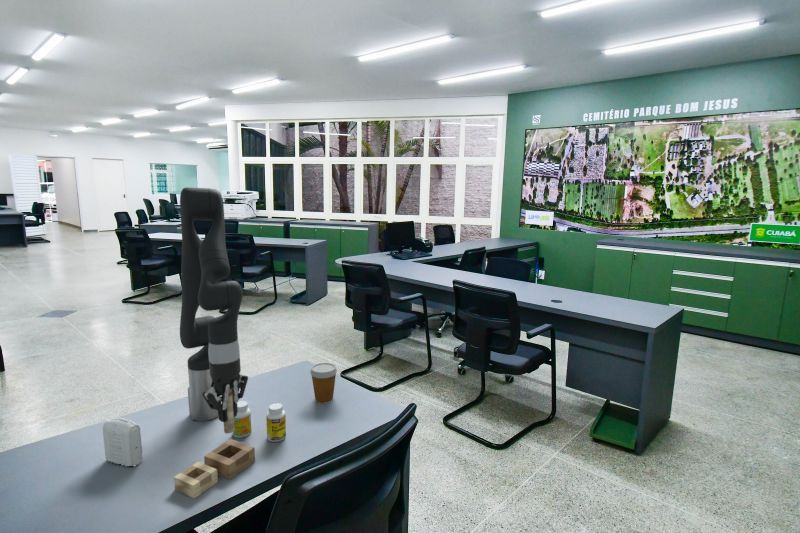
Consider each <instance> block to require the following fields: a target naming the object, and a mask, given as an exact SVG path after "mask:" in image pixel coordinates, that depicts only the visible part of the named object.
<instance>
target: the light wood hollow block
mask: <svg viewBox="0 0 800 533" xmlns="http://www.w3.org/2000/svg"><path fill="white" fill-rule="evenodd" d="M218 476H219V475H218V474H217V469H215V468H213V467H210V466H208V465H205V463H202V462H200V461H196V462H195V463H193V464H192V465H191V466H189V467H187V468H186V469H185V470H183V471H181V472H180V473H178V474H176V475H174V476H173V481H174V490H175V491H176V492H180V493H181V494H183V495H186V496H187V497H190V498H192V499H196V498H197V497H199V496H201V494H203V493H204V492H206V491H207V490H208V489H209V488H211V487H212V486H214V485H216V483H218V482H219V478H218Z"/></svg>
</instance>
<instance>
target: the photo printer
mask: <svg viewBox="0 0 800 533" xmlns="http://www.w3.org/2000/svg"><path fill="white" fill-rule="evenodd" d="M102 436H103V443H104V445H103V447H104V456H105V460H106V461H107V460H108V461H107V462H109V461H111V462H110V463H112V462H114V463H113V464H116V463H117V464H116V465H119V464H121V465H120V466H123V465H125V466H124V467H127V466H134V465H137V464H138V465H140V464H141V463H140V462H142V460H143V446H142V445H143V444H142V434H141V427H140V426H139V424H137V423H136V422H134V421H133V420H130V419H127V418H123V417H112V418H109V419H108V420H105V421H104V423H103V425H102ZM139 463H140V464H139ZM138 465H137V466H138ZM134 467H135V466H134Z"/></svg>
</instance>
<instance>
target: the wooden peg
mask: <svg viewBox="0 0 800 533" xmlns="http://www.w3.org/2000/svg"><path fill="white" fill-rule="evenodd" d="M222 397H223V396H222ZM226 408H227V416H228V421H227V422H225V423H224V422H223V432H224V433H225V434H233V432H234V430H235V428H234V412H233V392H232V389H230V390H229V393H228V400H227V405H226Z"/></svg>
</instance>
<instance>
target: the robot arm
mask: <svg viewBox="0 0 800 533" xmlns="http://www.w3.org/2000/svg"><path fill="white" fill-rule="evenodd" d="M179 208H180V210H179V211H180V226H181V227H180V228H181V267H180V269H181V270H180V272H181V275H180V276H181V277H180V278H181V280H180V281H181V311H180V321H179V340H180V343H181V345H182V347H183V348H184V349H186V350H187V349H189V350H190V349H194V348H200V347H202V348H201V349H200V350H198V351H196V352H195V353H194V354H192V355H190V356H189V358H188V359H187V375H188V376H187V377H188V387H187V399H188V410H189V413H188V414H189V415H190V416H191V419H192V420H194V421H198V422H203V421H206V422H207V421H211V420H213V419H216V418H217V417H218V419H217V420H219V422H222V423H223V424H224V423H225V422H227V421H228V416H227V408H226V405H227V400H228V393H229V390H230V389H232V392H233V412H234V417H235V416H237V412H238V409H237V402H239V401H240V399H242V398H243V397H244V396H245V395H244V394H245V391H246V387H247V384H248V381H249V380H248V379H249V376H247V375H245V374H241V357H240V356H241V353H240V351H241V350H240V344H239V338H238V337H239V335H238V319H239V313H240V308H241V305H242V301H243V297H244V292H243V291H244V290H243V287H242V285H241V284H240V283H239V282H238V281H236V280H226V281H225V279H226V278H228V277H229V275H230V273H231V266H230V262H229V258H228V251H227V246H226V245H227V244H226V223H225V220H226V219H225V210H224V209H225V208H224V200H223V195H222V193H221V191H220V190H218V189H216V188H209V187H184V188H182V189H181V191H180V195H179ZM195 221H212V225H211V227H210V229H209V231H208V233H207V234H206V236H205V237H204V238H203V240H201V238H200V237H199V235H198V233H197V231H196V228H195V225H194V222H195ZM222 280H224V281H222ZM199 307H200V308H201V309H203V311H207V312H208V311H209V312H210V311H218V310H226V312H225V313H223V314H222V315H219V316H216V317H214V315H207V316H201V317H197V316H196V315H197V312H198V310H199ZM222 396H223V397H222Z"/></svg>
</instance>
